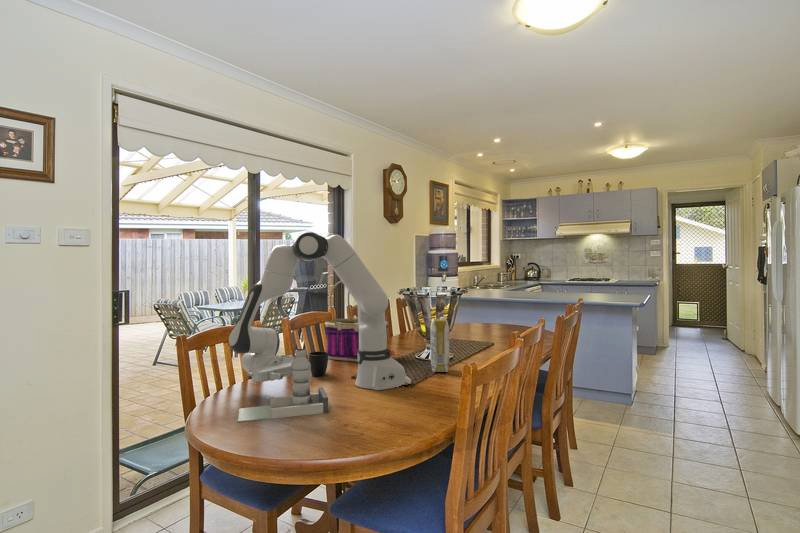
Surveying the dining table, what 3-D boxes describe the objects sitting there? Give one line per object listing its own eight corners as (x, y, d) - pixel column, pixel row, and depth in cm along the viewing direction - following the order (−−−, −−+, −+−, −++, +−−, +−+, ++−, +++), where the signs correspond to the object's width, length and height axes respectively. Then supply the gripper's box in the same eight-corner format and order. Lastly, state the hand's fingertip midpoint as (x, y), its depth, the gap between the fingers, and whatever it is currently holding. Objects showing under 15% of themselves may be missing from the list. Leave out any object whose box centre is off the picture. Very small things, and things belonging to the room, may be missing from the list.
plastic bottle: (307, 413, 150) (306, 352, 149) (288, 411, 151) (287, 351, 150) (314, 406, 156) (314, 348, 155) (296, 405, 157) (295, 347, 157)
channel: (322, 400, 162) (322, 386, 162) (328, 412, 150) (328, 397, 150) (270, 406, 156) (270, 391, 156) (271, 418, 144) (271, 403, 144)
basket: (392, 355, 233) (391, 277, 231) (376, 364, 214) (375, 279, 213) (338, 351, 244) (337, 276, 243) (319, 359, 226) (318, 278, 224)
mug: (334, 371, 203) (334, 349, 203) (323, 378, 191) (323, 355, 191) (317, 370, 205) (316, 349, 204) (305, 377, 193) (305, 354, 193)
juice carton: (449, 373, 197) (449, 318, 196) (431, 373, 197) (431, 318, 197) (447, 368, 206) (447, 315, 206) (430, 368, 207) (430, 315, 206)
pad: (270, 406, 156) (270, 405, 156) (271, 418, 145) (271, 417, 145) (239, 409, 153) (239, 408, 153) (237, 422, 142) (237, 420, 142)
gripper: (244, 364, 158) (265, 371, 149) (294, 354, 173) (316, 359, 164) (244, 382, 158) (266, 390, 149) (294, 370, 173) (316, 377, 164)
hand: (293, 374), depth 156 cm, fingers open, 8 cm apart
